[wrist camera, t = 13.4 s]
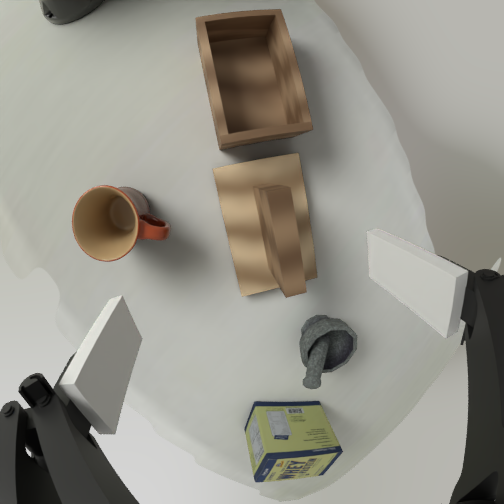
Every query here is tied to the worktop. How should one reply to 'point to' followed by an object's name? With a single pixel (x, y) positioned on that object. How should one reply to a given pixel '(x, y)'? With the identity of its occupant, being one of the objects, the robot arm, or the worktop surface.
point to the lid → (267, 224)
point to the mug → (114, 222)
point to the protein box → (290, 440)
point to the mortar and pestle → (325, 347)
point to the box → (252, 77)
